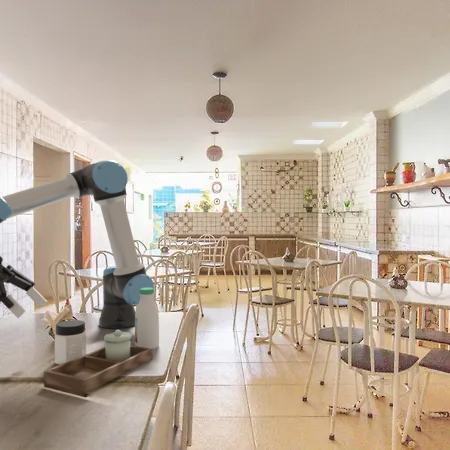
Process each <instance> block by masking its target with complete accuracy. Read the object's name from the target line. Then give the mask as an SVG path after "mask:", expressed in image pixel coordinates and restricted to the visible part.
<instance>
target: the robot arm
mask: <svg viewBox="0 0 450 450" xmlns="http://www.w3.org/2000/svg"><path fill="white" fill-rule="evenodd" d="M128 179H129V178H128V173H127V170H126V169H125V168H124V166H123V165H122V164H121V163H119V162H117V161H115V160H111V159H109V160H101V161H98V162H94V163H91V164H88V165H86V166H83V167H82V168H80V169H77V170H75V171H73V172H69V173H67V174H66V176H65V177H63V178H60V179H59V178H58V179H55V180H53V181H52V180H51V181H50V182H46V183H43V184H42V183H41V184H40V185H35V186H33V187H30V188H27V189H23V190H20V191H17V192H13V193H11V194H7V195H5V196H4V195H3V196H0V224H1V223H3V222H6V221H7V219H11V218H13V217H17V216H20V215H23V214H25V213H29V212H31V211H35V210H37V209H41V208H43V207H46V206H50V205H52V204H55V203H58V202H61V201H62V202H63V201H65V200H67V199H70V198H71V199H72V198H75V199H78V198H79V199H80V198H83V197H86V196H92V198H93V200H94V202H95V204H98V205H99V206H100V209H101V213H102V217H103V222H104V225H105V230H106V232H107V233H106V234H107V237H108V240H109V241H108V242H109V246H110V249H111V252H112V256H113V260H114V264H115V267H108V268H105V269H104V270H103V272H102V290H103V291H102V294H103V297H102V299H103V301H102V302H103V305H102V310H101V312H100V315H99V317H98V318H99V319H98V326H99V327H101V328H104V329H125V328H130V327H135V313H136V309H135V306H138V304H139V302H140V289H141V288H153V289H154V290H155V284H154V280H153V278H151V277H150V275H148V274H147V272H146V267H145V264H143V263H141V262H140V260H139V256H138V252H137V248H136V244H135V241H134V236H133V233H132V228H131V224H130V220H129V216H128V212H127V208H126V204H125V198H126V197H127V195H128V194H127V190H126V186H127V184H128ZM2 262H3V257H2V256H1V255H0V303H2V304H3V305H4V306H5V308H7V309H8V310H9V311H10V312H11V313H12V314H13V316H15V317H16V318H17V319H19V318H21V317H22V316H23V314H24V313H26V310H25V308H23V307H22V306H21V304H20V303H19V302H18V301H17V300H16V299H15V298H14V297H13V296H12V294H7V290H6V286H5V284H11V285H13V286H15V287H17V288H19V289H20V290H23V291H25V294H26V295H27V296H28V297H29V298H30V299H31V300H32V301H33V302H34V304H36V305H37V306H38V307H39V308H40V309H42V307H44V305H45V304H47V302H48V300H47V299H46V298H45V297H44V296H43V295H42V294H41V293H40V292H39V291H38V290H37V289H36V288H35V287H34V286H35V285H36V283H35V282H34V281H33V280H31V279H30V278H29V277H27V276H25V275H24V274H22V273H21V272H19V271H18V270H17V269H16V268H14V267H13V266H12V265H11V264H7V266H6V267H5V266H4V265H3V264H2Z"/></svg>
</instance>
